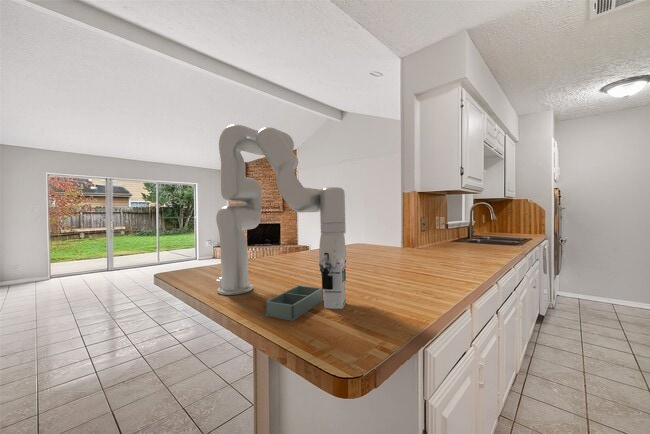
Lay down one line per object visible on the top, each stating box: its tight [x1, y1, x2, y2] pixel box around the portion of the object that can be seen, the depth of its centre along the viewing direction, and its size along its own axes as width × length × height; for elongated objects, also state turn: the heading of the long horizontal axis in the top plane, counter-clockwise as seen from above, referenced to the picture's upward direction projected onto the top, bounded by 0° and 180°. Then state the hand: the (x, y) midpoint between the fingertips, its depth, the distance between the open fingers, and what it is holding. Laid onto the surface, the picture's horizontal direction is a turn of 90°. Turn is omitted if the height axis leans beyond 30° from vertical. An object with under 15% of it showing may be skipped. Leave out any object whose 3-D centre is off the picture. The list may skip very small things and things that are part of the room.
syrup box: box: [323, 259, 346, 310], centre depth 85 cm, size 6×6×14 cm
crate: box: [264, 285, 324, 322], centre depth 84 cm, size 18×9×4 cm, turn 154°
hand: (334, 284), depth 85 cm, fingers open, 9 cm apart
